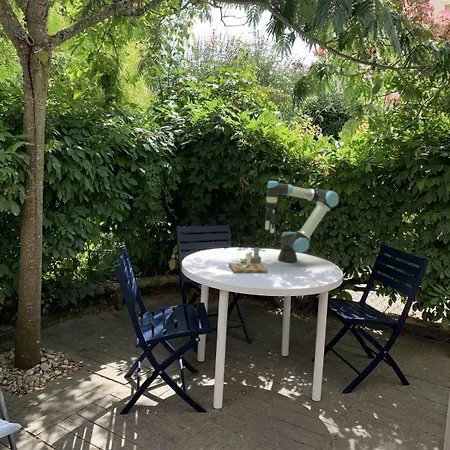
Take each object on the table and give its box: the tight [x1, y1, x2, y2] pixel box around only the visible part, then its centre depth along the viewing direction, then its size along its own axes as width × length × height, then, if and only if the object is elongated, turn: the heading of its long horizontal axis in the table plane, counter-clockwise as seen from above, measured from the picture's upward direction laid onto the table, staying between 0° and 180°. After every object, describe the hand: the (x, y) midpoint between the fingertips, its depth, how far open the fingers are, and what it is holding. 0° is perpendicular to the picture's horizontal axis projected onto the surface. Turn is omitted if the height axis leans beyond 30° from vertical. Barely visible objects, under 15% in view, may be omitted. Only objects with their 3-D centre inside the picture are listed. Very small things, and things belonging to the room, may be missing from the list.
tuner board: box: [228, 262, 268, 274], centre depth 300 cm, size 24×19×2 cm
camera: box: [239, 247, 262, 264], centre depth 318 cm, size 9×12×15 cm
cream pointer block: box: [243, 250, 253, 268], centre depth 299 cm, size 13×3×10 cm, turn 156°
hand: (269, 231), depth 307 cm, fingers open, 13 cm apart
